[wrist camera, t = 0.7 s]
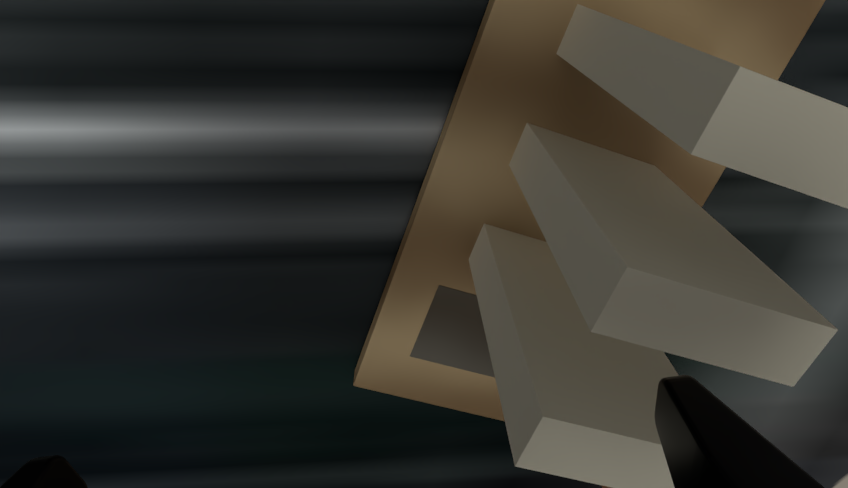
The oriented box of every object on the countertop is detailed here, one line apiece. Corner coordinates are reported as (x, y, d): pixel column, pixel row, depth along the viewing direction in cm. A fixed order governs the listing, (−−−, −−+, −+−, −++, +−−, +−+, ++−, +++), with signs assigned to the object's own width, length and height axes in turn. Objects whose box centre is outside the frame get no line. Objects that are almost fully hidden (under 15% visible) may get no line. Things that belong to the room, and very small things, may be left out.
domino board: (560, 419, 28) (565, 436, 27) (354, 370, 26) (353, 386, 25) (941, -236, 17) (972, -246, 16) (634, -400, 15) (650, -421, 14)
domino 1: (689, 102, 20) (914, 231, 12) (556, 54, 19) (690, 154, 11) (713, 56, 20) (974, 156, 11) (577, 3, 19) (740, 66, 10)
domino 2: (633, 204, 22) (793, 386, 13) (508, 164, 21) (590, 331, 12) (654, 165, 21) (837, 329, 13) (527, 122, 20) (627, 266, 12)
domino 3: (585, 292, 24) (699, 507, 15) (468, 259, 23) (514, 466, 14) (604, 259, 23) (734, 462, 14) (483, 223, 22) (542, 416, 13)
